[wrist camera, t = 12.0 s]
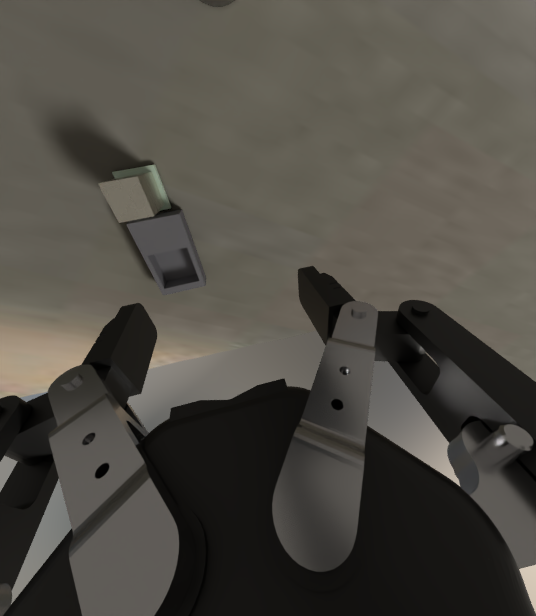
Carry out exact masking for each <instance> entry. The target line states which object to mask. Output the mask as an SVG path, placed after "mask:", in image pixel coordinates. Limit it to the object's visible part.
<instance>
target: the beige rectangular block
mask: <svg viewBox="0 0 536 616" xmlns="http://www.w3.org/2000/svg"><path fill="white" fill-rule="evenodd" d="M98 185H99V187H100V188H101V190H102V192H103V194H104V196H105V198H106V200H107V201H108V203H109V205H110V207H111V209H112V211H113V213H114V215H115V216H116V218H117V220H118V222H119V223H121V222H126V221H132V220H137V219H142V218H147V217H153V216H155V215H156V214H157V213H158V211H159V210H160V209H161V208H162V207H163V206H164V205H165V204H164V201H163V199H162V196H161V194H160V191H159V188H158V186H157V183H156V181H155V178H154V176H153V173H152V172H147V173H141V174H135V175H129V176H124V177H119V178H115V179H112V180H108V181H105V182H101V183H98Z"/></svg>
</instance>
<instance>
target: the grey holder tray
mask: <svg viewBox="0 0 536 616" xmlns="http://www.w3.org/2000/svg"><path fill="white" fill-rule="evenodd" d="M126 225H127V227H128V229H129V231H130V233H131V235H132V237H133V239H134V241H135V242H136V244H137V246H138V248H139V250H140V252H141V254H142V256H143V258H144V260H145V262H146V264H147V266H148V267H149V269H150V271H151V273H152V275H153V277H154V279H155V281H156V283H157V285H158V287H159V289H160V290H161V292H162V294H163V295H167V294H171V293H176V292H180V291H185V290H189V289H193V288H198V287H202V286H206V276H205V273H204V270H203V267H202V264H201V262H200V259H199V256H198V253H197V250H196V248H195V245H194V242H193V239H192V236H191V234H190V231H189V228H188V225H187V222H186V219H185V217H184V214H183V211H182V209H180V210H175V211H170V212H164V213H159V214H156V215H155V216H153V217H147V218H142V219H137V220H132V221H130V222H128V223H127V224H126Z"/></svg>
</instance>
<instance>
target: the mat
mask: <svg viewBox="0 0 536 616" xmlns="http://www.w3.org/2000/svg"><path fill="white" fill-rule="evenodd" d="M147 172H152V173H153V176H154V178H155V181H156V183H157V186H158V188H159V191H160V194H161V196H162V199H163V201H164V204H165V205H164V206H163V207H162V208H161V209H160V210H166V209H171V205H170V202H169V200H168V197H167V194H166V192H165V189H164V187H163V184H162V181H161V179H160V176H159V173H158V171H157V168H156V166H155V165H149V166H144V167H138V168H132V169H127V170H121V171H115V172H112V174H113V176H114V178H119V177H124V176H129V175H135V174H141V173H147ZM160 210H159V211H160Z"/></svg>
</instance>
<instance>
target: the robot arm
mask: <svg viewBox="0 0 536 616" xmlns="http://www.w3.org/2000/svg"><path fill="white" fill-rule="evenodd" d="M200 1H201V2H203V3H205V4H207V5H210V6H214V7H222V6H225V5H229V4H230V3H232V2H233V1H234V0H200ZM298 286H299V298H300V302H301V304H302V306H303V308H304V310H305V311H306V313H307V315H308V316H309V318H310V320H311V322H312V323H313V325H314V327H315V328H316V330H317V332H318V333H319V335H320V337H321V338H322V340H323V342H324V344H325V345H326V347H325V350H324V353H323V356H322V359H321V362H320V365H319V368H318V371H317V374H316V377H315V380H314V383H313V386H312V389H311V391H310V390H307V389H304V388H300V387H287V385H286V382H285V379H280V380H276V381H272V382H268V383H265V384H261V385H257V386H255V387H253V388H252V389H250V390H248V391H246V392H244V393H242V394H240V395H238V396H236V397H234V398H233V399H230V400H200V401H196V402H192V403H188V404H185V405H181V406H177V407H173V408H171V412H170V419H168V420H166V421H165V422H163V423H162V424H160V425H158V426H157V427H156V428H155V429H153V430H152V431H151V432H150V433H149V432H148V431H147V430H146V428H145V427H144V425H143V424H142V422H141V421H140V419H139V418H138V416H137V415H136V413H135V412H134V410H133V409H132V407H131V406H130V405H129V404H128V403H127V401H128V397H130V396H134V395H137V394H141V392H142V388H143V385H144V381H145V378H146V374H147V371H148V367H149V364H150V361H151V357H152V354H153V350H154V347H155V343H156V340H157V331H156V328H155V325H154V324H153V322H152V320H151V319H150V317H149V315H148V314H147V312H146V310H145V309H144V307H143V306H142V304H140V303H136V304H131V305H127V306H122V307H121V308H120V310H119V312H118V314H117V315H116V317H115V318H114V319H112V320H111V321H110V322H109V323H108V324H107V325H106V326H105V327H104V328H103V330H102V332H101V333H100V336H99V337H98V338H97V340H96V343H94V345H93V346H92V348H91V350H90V351H89V353H88V355H87V356H86V358H85V360H84V361H83V363H82V365H80V366H77V367H74V368H72V369H70V370H68V371H66V372H65V373H63V374H62V375H61V376H59V377H58V378H57V379H56V380H55V381H54V382H53V383H52V384H51V386H50V387H49V390H48V393H46V394H44V395H42V396H39V397H37V398H35V399H32V400H30V401H28V402H25V401H23V400H22V399H21V398H19V397H17V396H7V397H4V398H1V399H0V461H1V460H2V458H3V457H4V455H5V456H7V457H9V458H11V459H14V460H16V461H18V462H17V464H16V466H15V467H14V469H13V471H12V473H11V475H10V476H9V478H8V480H7V482H6V483H5V485H4V487H3V488H2V490H1V492H0V616H536V613H535V611H534V609H533V606H532V604H531V601H530V599H529V596H528V593H527V590H526V587H525V584H524V582H523V579H522V576H521V574H520V571H519V569H520V568H524V567H528V566H532V565H535V564H536V382H535V381H533V380H532V379H531V378H529V377H528V376H527V375H526V374H524V373H523V372H522V371H520V370H519V369H518V368H516V367H515V366H514V365H512V364H511V363H510V362H508V361H507V360H506V359H504V358H503V357H502V356H501V355H499V354H498V353H497V352H495V351H494V350H493V349H491V348H490V347H489V346H487V345H486V344H485V343H483V342H482V341H481V340H479V339H478V338H477V337H476V336H474V335H473V334H472V333H470V332H469V331H468V330H466V329H465V328H464V327H462V326H461V325H460V324H458V323H457V322H456V321H454V320H453V319H452V318H451V317H449V316H448V315H447V314H445V313H444V312H443V311H441V310H440V309H439V308H437V307H436V306H434V305H432V304H430V303H428V302H424V301H419V300H409V301H405V302H403V303H401V304H400V306H399V309H398V311H377V309H376V308H375V307H374V306H372V305H371V304H369V303H366V302H361V301H355V300H354V299H353V297H352V296H351V295H350V294H349V293H348V292H347V291H346V290H345V289H344V288H343V287H342V286H341V285H340V284H339V283H338V282H337V281H336V280H335V279H334V278H333V277H332V276H330V275H328V274H326V273H321V274H320V273H319V272H318V271H317V270H316V269H315V267H314V266H310V267H305V268H300V269H299V270H298ZM425 352H427V353H428V354H429V355H430V356H431V357H432V358H433V359H434V360H435V361H436V363H437V364H438V366H439V367H438V366H437V365H436V364H435V363H434V362H433V361H432V359H431V358H430V357H429V356H428V355H427V354H426V353H425ZM374 361H388V362H389V363H390V365H391V366H392V367H393V369H394V370H395V371H396V373H397V374H398V375H399V377H400V378H401V379H402V381H403V382H404V383H405V385H406V386H407V387H408V389H409V390H410V391H411V393H412V394H413V395H414V396H415V398H416V399H417V401H418V402H419V403H420V405H421V406H422V407H423V409H424V410H425V411H426V413H427V414H428V415H429V416H430V418H431V419H432V421H433V422H434V423H435V425H436V426H437V427H438V429H439V430H440V431H441V433H442V434H443V435H444V437H445V438H446V439H447V441H448V442H449V445H448V449H447V453H448V458H449V461H450V464H451V465H452V467H453V469H454V472H455V475H456V476H457V478H458V479H459V482H460V486H458V485H457V484H456V483H454V482H453V481H452V480H450V479H449V478H447V477H446V476H444V475H443V474H441V473H440V472H438V471H437V470H435V469H434V468H432V467H430V466H429V465H427V464H426V463H424V462H423V461H421V460H420V459H418V458H417V457H415V456H413V455H412V454H410V453H409V452H407V451H406V450H404V449H403V448H401V447H400V446H398V445H396V444H395V443H393V442H392V441H390V440H389V439H387V438H386V437H384V436H383V435H381V434H379V433H378V432H376V431H375V430H373V429H372V428H370V427H369V426H367V421H368V413H369V412H368V411H369V404H370V395H371V386H372V377H373V368H374ZM58 479H59V480H60V484H61V488H62V491H63V495H64V499H65V503H66V507H67V511H68V514H69V518H70V522H71V526H72V529H71V530H70V531H69V533H68V534H67V535H66V536H65V538H64V539H63V540H62V541H61V543H60V544H59V545H58V546H57V548H56V549H55V550H54V551H53V553H52V554H51V555H50V556H49V558H48V559H47V560H46V562H45V563H44V564H43V565H42V567H41V568H40V569H39V570H38V572H37V573H36V574H35V575H34V577H33V578H32V579H31V581H30V582H29V583H28V584H27V586H26V587H25V588H24V589H23V591H22V592H21V593H20V594H19V596H18V597H17V598H16V600H15V601H14V602H13V603H12V604H11V602H12V589H13V586H14V584H15V582H16V579H17V577H18V574H19V572H20V570H21V567H22V565H23V563H24V560H25V557H26V555H27V553H28V550H29V548H30V546H31V543H32V541H33V539H34V536H35V534H36V531H37V529H38V527H39V524H40V522H41V519H42V517H43V515H44V512H45V510H46V507H47V505H48V503H49V500H50V497H51V495H52V493H53V491H54V488H55V486H56V483H57V481H58Z"/></svg>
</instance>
